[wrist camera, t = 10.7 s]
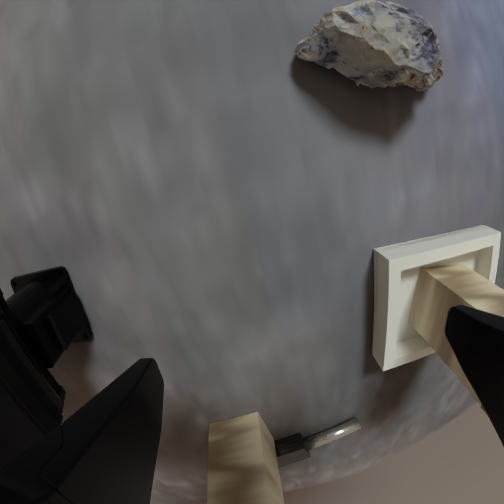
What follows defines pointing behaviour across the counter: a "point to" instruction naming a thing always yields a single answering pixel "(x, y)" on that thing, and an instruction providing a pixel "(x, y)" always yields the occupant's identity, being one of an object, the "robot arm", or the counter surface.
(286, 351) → the counter surface
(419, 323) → the block
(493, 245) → the tray
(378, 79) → the mineral specimen
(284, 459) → the pin gauge
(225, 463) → the block
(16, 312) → the robot arm
